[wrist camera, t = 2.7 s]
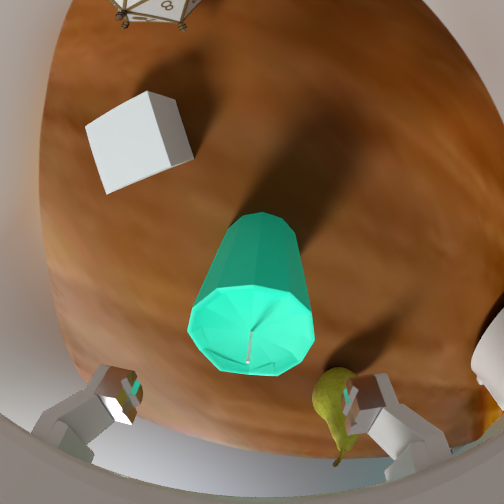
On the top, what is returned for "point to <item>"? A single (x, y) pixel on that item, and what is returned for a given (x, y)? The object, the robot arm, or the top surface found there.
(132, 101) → the grey block
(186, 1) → the game die
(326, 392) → the fruit
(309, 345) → the candle
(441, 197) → the top surface
